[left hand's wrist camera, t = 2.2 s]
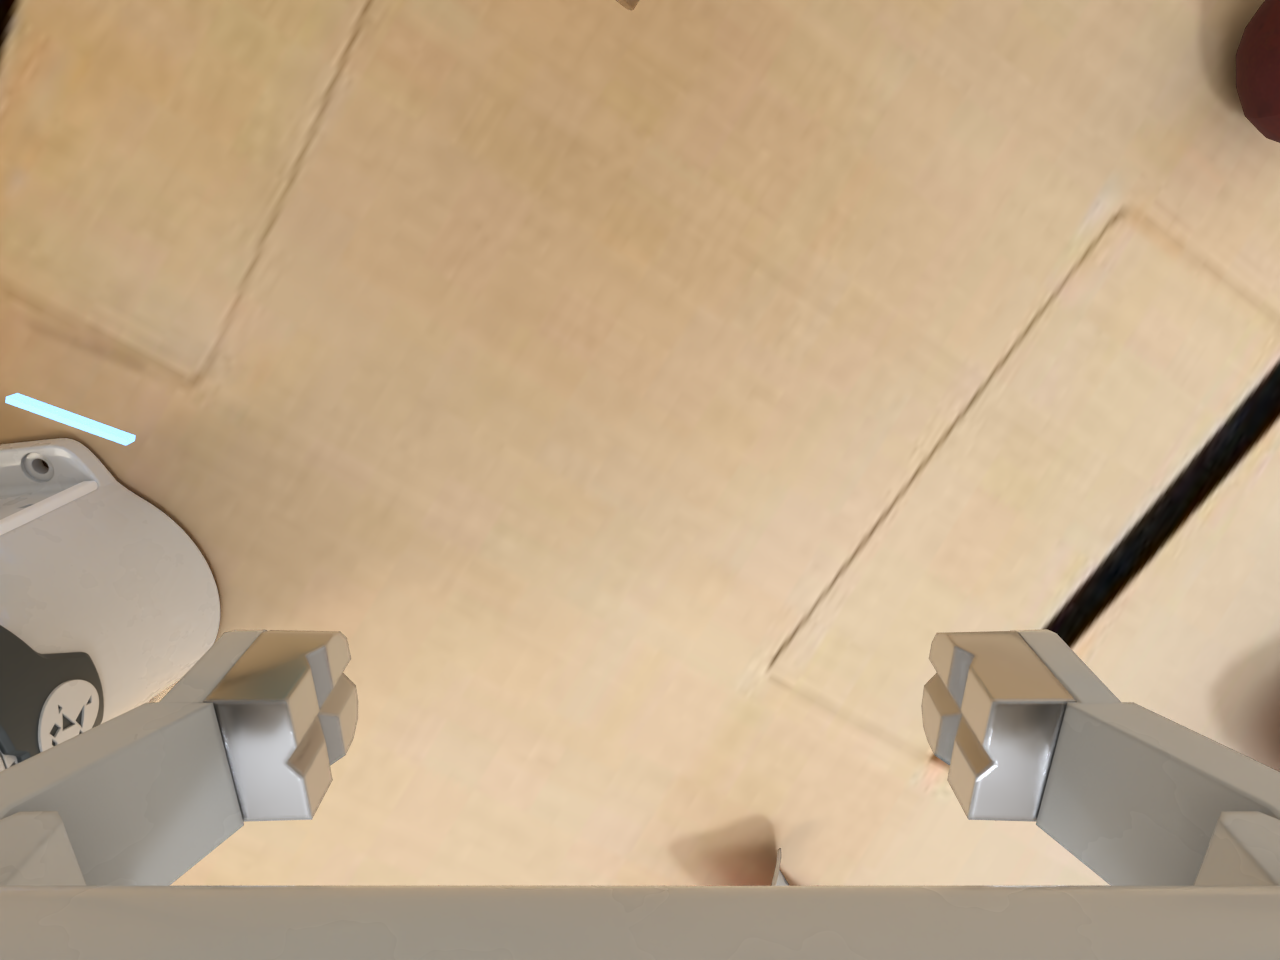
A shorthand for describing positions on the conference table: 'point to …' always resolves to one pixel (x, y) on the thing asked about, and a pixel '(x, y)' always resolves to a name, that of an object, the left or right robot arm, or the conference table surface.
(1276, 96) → the dark maroon ball
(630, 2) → the drawer
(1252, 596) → the conference table surface
